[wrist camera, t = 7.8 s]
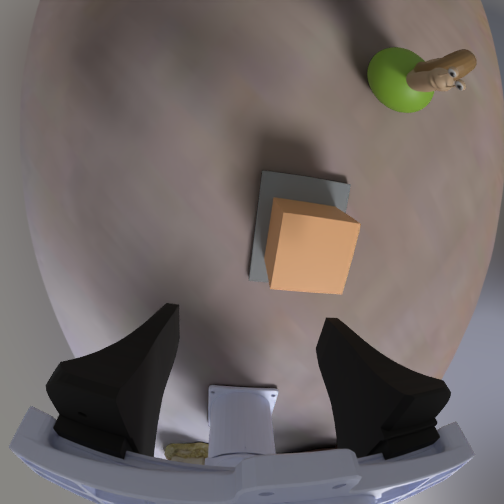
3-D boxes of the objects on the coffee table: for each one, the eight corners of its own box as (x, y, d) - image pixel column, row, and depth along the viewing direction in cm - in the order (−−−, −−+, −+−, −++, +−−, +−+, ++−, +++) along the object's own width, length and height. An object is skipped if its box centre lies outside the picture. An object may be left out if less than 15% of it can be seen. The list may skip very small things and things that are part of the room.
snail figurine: (335, 78, 17) (423, 26, 6) (385, 48, 16) (475, 5, 5) (374, 132, 19) (482, 133, 8) (419, 98, 18) (522, 88, 6)
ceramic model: (154, 438, 34) (144, 488, 24) (221, 440, 34) (220, 495, 24) (180, 469, 39) (176, 509, 30) (236, 470, 39) (236, 512, 30)
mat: (326, 283, 24) (328, 286, 23) (248, 277, 23) (248, 280, 23) (347, 183, 20) (350, 184, 20) (262, 170, 20) (262, 170, 19)
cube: (322, 264, 22) (341, 294, 18) (264, 258, 22) (270, 288, 17) (335, 206, 21) (360, 223, 16) (273, 197, 20) (283, 212, 15)
